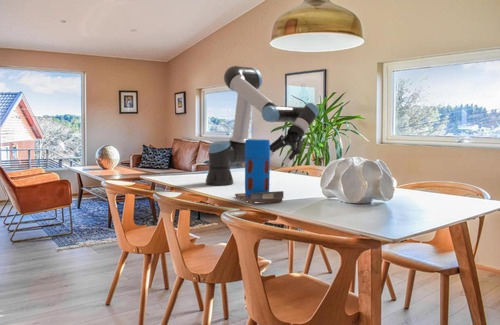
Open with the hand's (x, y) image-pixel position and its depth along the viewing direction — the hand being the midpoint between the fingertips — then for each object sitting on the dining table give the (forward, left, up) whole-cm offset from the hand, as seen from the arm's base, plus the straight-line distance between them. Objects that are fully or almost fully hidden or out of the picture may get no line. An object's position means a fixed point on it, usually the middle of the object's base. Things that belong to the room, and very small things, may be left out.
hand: (274, 163), depth 200 cm
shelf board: (+2, -9, -16) cm, 18 cm away
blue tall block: (+3, -10, -14) cm, 18 cm away
